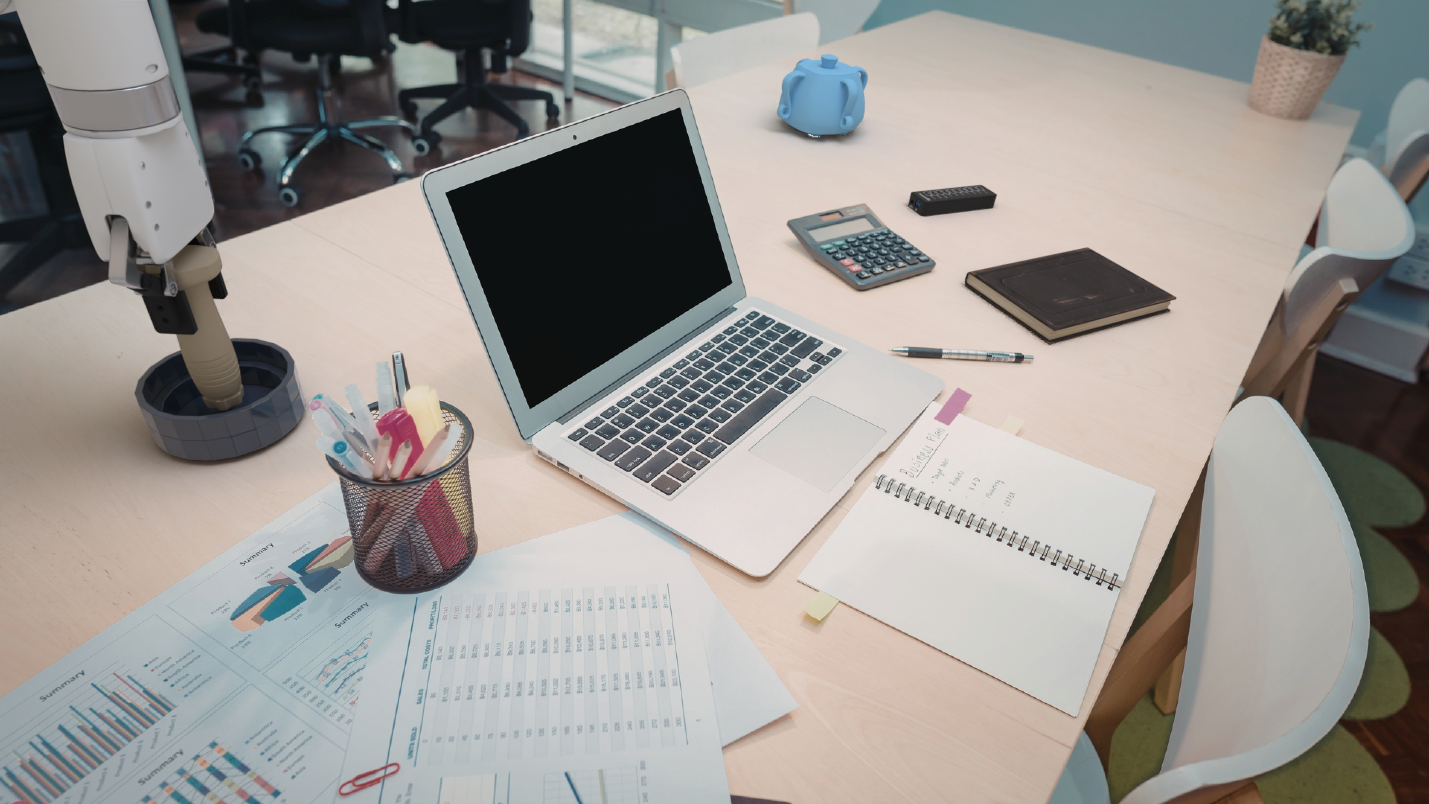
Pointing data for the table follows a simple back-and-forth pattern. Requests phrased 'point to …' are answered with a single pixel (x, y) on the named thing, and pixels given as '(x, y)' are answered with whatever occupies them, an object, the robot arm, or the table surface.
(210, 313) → the handle
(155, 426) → the bowl
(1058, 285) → the hardcover book
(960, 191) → the multiport hub
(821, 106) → the decorative pot
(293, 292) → the table surface
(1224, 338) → the table surface
